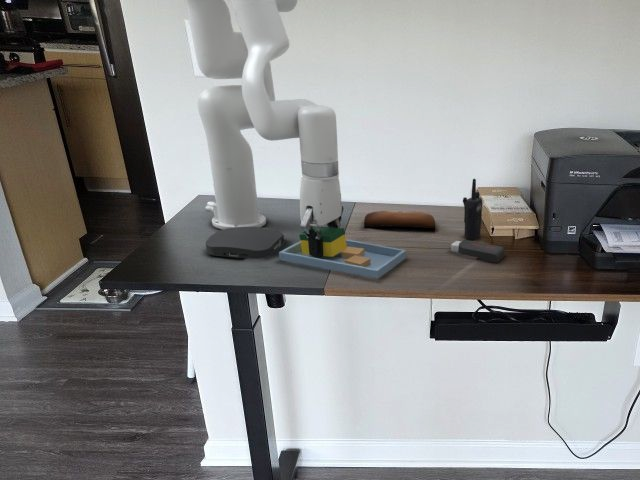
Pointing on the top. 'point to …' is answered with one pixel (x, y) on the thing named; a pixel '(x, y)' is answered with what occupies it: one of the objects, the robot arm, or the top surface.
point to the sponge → (327, 241)
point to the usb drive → (479, 250)
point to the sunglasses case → (399, 219)
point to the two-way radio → (472, 214)
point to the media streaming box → (245, 242)
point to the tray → (378, 255)
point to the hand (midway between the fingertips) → (325, 249)
